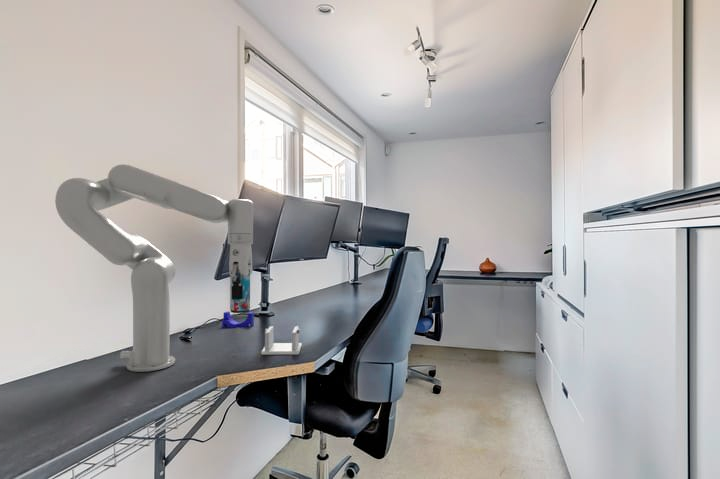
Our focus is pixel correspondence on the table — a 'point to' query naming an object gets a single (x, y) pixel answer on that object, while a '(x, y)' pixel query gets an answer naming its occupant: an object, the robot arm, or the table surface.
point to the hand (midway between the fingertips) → (240, 296)
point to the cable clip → (230, 323)
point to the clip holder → (281, 347)
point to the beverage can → (243, 303)
